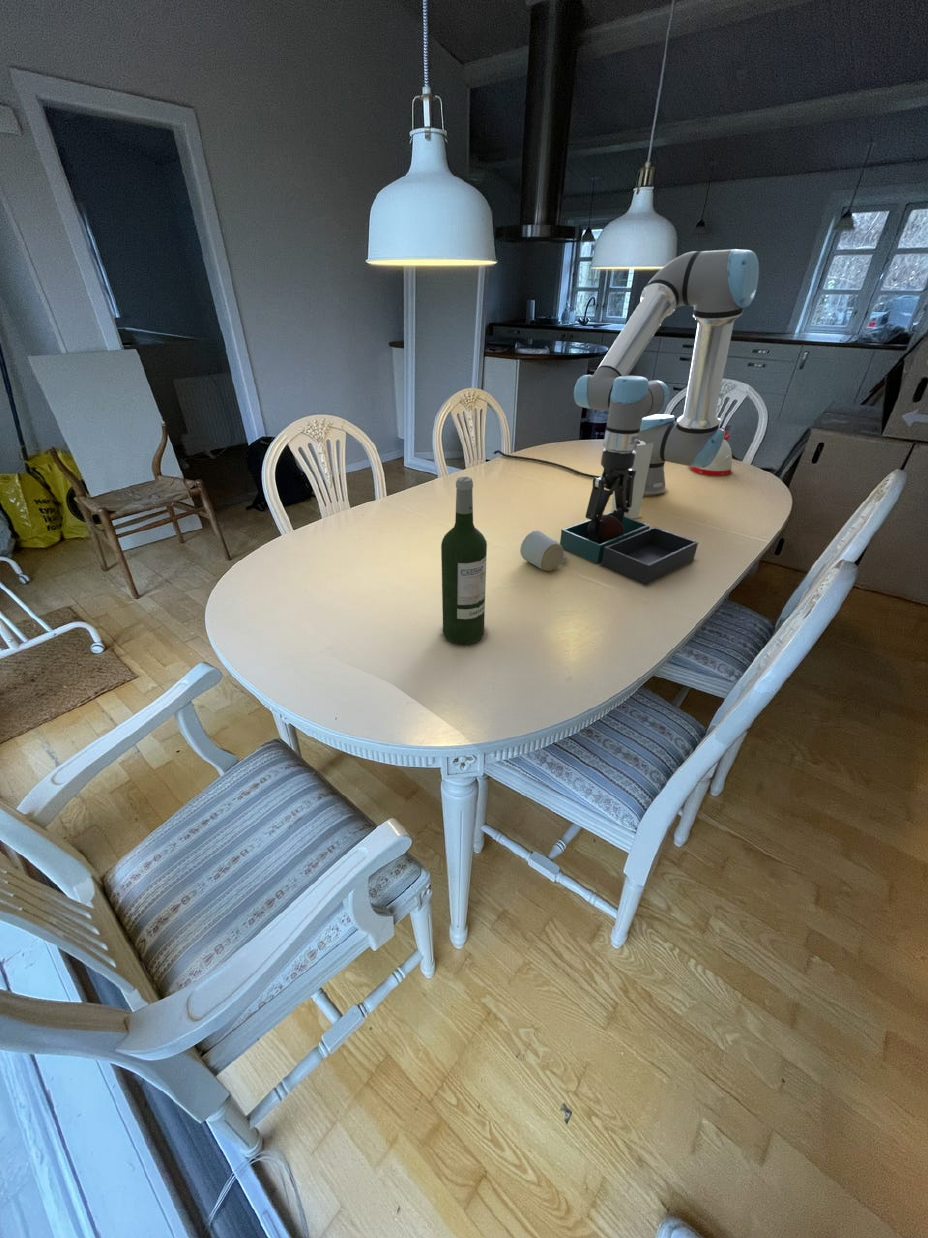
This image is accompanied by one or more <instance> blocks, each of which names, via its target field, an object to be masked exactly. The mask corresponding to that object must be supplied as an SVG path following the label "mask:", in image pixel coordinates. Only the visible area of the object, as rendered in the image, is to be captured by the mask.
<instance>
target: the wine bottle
mask: <svg viewBox="0 0 928 1238" xmlns="http://www.w3.org/2000/svg"><path fill="white" fill-rule="evenodd" d="M455 488H456V489H455V491H456V492H455V518H454V519H455V520H454V521H455V523H454V526H453V527H452V528H451V529H450V530H448V531H447V532H446V533H445V534H444V536H443V537H442V539H441V545H440V551H441V552H440V555H441V556H440V557H441V558H440V559H441V560H440V561H441V595H442V596H441V601H442V602H441V605H442V634H443V637H444V638H445V639H446V640H447V641H448V642H450V643H452V644H455V645H461V646H467V645H472V644H476V643H478V642H479V641H480V640H482V638H483V637H484V635H485V616H486V615H485V613H486V610H485V609H486V586H487V585H486V582H487V554H488V553H487V552H488V543H487V540H486V538H485V536H484V534H483V533H482V532H481V531H480V530H479V529H478V528H476V527H475V523H474V499H473V488H474V481H473V478H472V477H470V476H459V477H457V478H456V481H455Z"/></svg>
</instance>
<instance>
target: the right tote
mask: <svg viewBox="0 0 928 1238" xmlns="http://www.w3.org/2000/svg"><path fill="white" fill-rule="evenodd" d="M698 545H699V542H698V541H696V540H693V539H690V538H687V537H685V536H681V535H680V534H676V533H674V532H671V531H668V530H665V529H661V528H659V527H656V526H652V527H650V528H649V529H648V530H645V531H643V532H640V533H638V534H636V535H633V536H631V537H628V538H626V539H623V540H621V541H619V542H616V543H614V544H611V545H609V546H606V547H604V552H603V558H602V562H601V565H600V566H601V567H602V568H605V569H607V570H610V571H611V572H613V573H616V574H618V575H620V576H622V577H625V578H627V579H630V580H632V581H634V582H636V583H638V584H641V585H643V586H647V585H648V584H650V583H652V582H654V581H656V580H658V579H660V578H662V577H664V576H666V575H668V574H669V573H671V572H674V571H676V570H678V569H679V568H682V567H683V566H685V565H687V564H689V563H692V562H694V559H695V556H696V551H697V549H698Z"/></svg>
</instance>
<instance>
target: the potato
mask: <svg viewBox="0 0 928 1238" xmlns="http://www.w3.org/2000/svg"><path fill="white" fill-rule="evenodd" d="M601 520H602V527H601V534H600V540H599V544H602V543H604V542H607V541H609V540H611V539H614V538H616V537H619V536H621V535H624V532H625V530H624V526H623V524H622V523H621V522H620V520H618V519H617V518H616V517H614V516H612V515H604V514H603V515H602V517H601ZM590 524H591V523H590ZM590 524H589V525H588V528H587V531H588V534H590Z"/></svg>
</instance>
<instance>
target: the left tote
mask: <svg viewBox="0 0 928 1238" xmlns="http://www.w3.org/2000/svg"><path fill="white" fill-rule="evenodd" d="M603 515H612V516H613V512H611V511H610V512H607V513H603ZM590 523H591V520H590V519H587V520H584V521H582V522H579V523H576V524H574V525H571V526H568V527H564V528H562V529H561V531H560V539H559V544H560V545H561V546H562V547H563V550H564V551H567V552H569V553H570V554H573V555H575V556H577V557H580V558H583V559H585V560H587V561H589V562H591V563H593V564H596V565H599V564H602V558H603V552H604V547H606V546H609V545H611V544H614V543H616V542H619V541H621V540H623V539H626V538H628V537H631V536H633V535H636V534H638V533H640V532H643V531H645V530H648V529H650V528H651V525H650V524H648V523H644V522H642V521H639V520H636V519H635V518H633V519H631V518H628V517H625V516H624V518H623V522H622V524H623V526H624V530H625V532H624V535H621V536H619V537H616V538H614V539H611V540H609V541H607V542H604V543H602V544H598V543H596V542H593V541H591V540H589V534H588V531H587V528H588V525H589V524H590Z"/></svg>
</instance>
